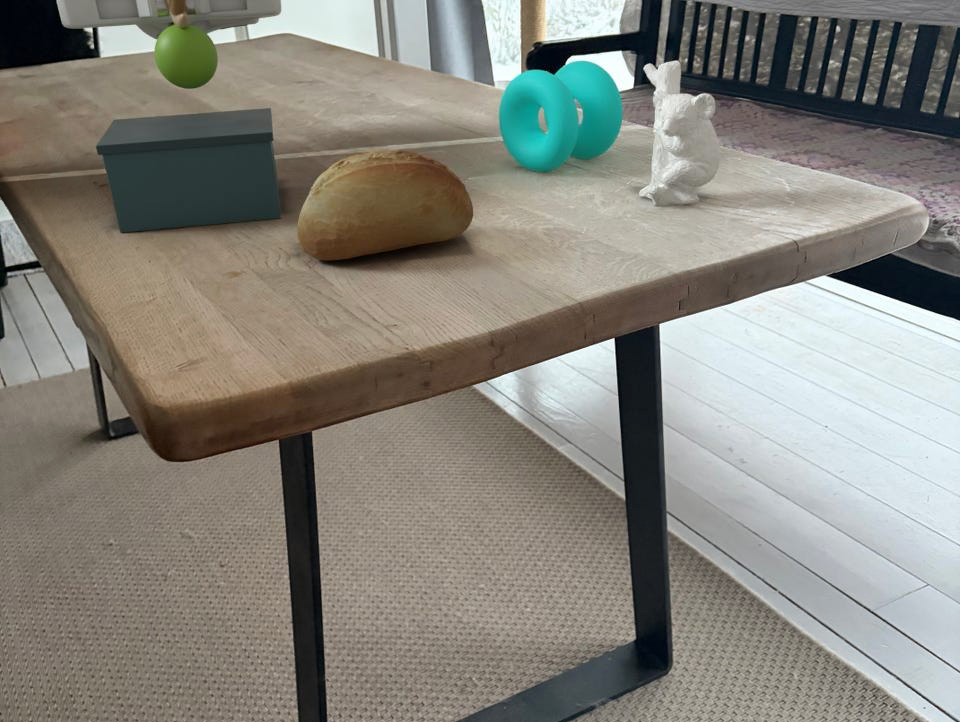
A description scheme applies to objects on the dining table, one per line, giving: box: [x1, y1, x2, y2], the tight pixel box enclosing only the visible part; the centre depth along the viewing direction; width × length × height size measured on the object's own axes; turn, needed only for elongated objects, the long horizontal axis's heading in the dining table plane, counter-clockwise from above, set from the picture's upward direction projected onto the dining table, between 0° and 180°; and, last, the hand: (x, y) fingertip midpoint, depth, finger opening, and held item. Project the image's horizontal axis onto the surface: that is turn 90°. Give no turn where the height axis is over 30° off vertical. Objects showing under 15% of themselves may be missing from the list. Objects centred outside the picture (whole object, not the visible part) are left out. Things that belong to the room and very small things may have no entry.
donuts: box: [498, 60, 624, 173], centre depth 100 cm, size 10×10×10 cm
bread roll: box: [296, 149, 474, 261], centre depth 77 cm, size 10×15×8 cm, turn 114°
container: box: [95, 107, 282, 234], centre depth 90 cm, size 15×12×8 cm
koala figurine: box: [638, 60, 722, 207], centre depth 85 cm, size 8×7×12 cm
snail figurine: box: [154, 0, 219, 90], centre depth 84 cm, size 5×6×12 cm
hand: (175, 5), depth 84 cm, fingers closed on snail figurine
